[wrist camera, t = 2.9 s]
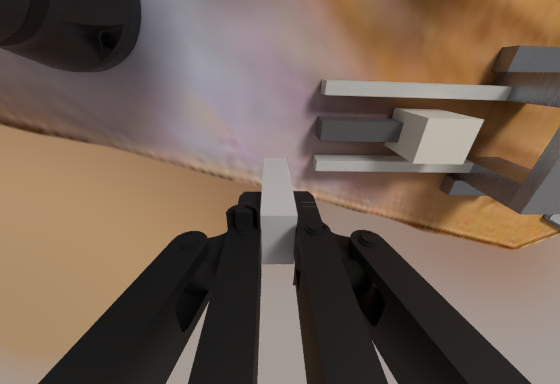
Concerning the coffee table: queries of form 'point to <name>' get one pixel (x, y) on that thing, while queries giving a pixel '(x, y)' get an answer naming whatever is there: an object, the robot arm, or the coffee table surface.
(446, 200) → the coffee table surface
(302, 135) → the coffee table surface
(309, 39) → the coffee table surface
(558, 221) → the smartphone
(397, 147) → the plug
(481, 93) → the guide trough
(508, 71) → the housing
